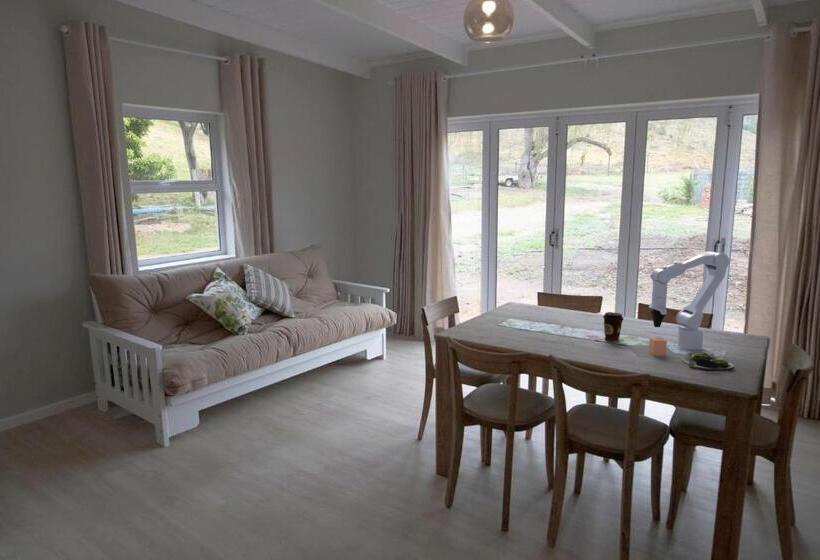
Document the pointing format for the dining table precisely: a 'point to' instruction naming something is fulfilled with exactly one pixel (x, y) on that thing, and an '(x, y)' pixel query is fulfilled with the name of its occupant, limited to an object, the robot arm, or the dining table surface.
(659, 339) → the peach foam cube
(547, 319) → the dining table surface
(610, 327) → the coffee cup
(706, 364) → the salad plate
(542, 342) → the dining table surface
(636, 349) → the mat
